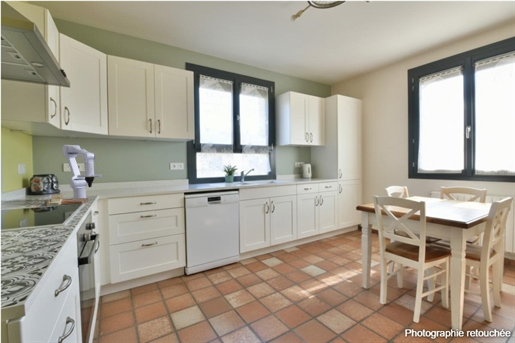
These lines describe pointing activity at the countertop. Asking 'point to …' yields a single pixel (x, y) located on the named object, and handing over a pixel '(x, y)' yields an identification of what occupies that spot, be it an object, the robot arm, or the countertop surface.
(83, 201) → the trap deck
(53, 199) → the maple block
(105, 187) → the countertop surface
